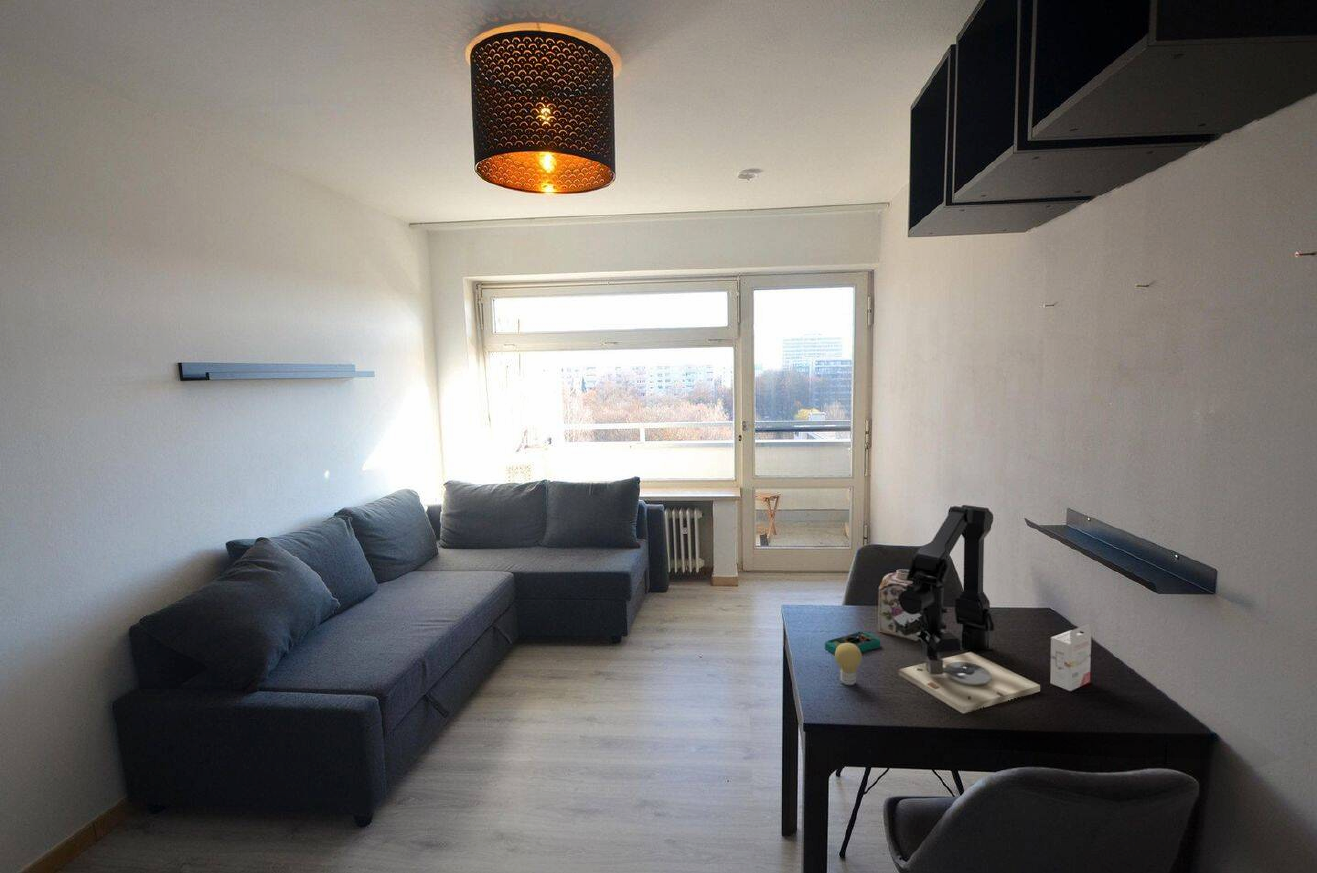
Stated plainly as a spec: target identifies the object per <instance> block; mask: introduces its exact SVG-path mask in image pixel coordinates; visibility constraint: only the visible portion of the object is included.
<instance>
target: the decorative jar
mask: <svg viewBox="0 0 1317 873" xmlns="http://www.w3.org/2000/svg"><path fill="white" fill-rule="evenodd" d="M908 572H909V569H906V568H905V569H897V570H896V572H891V573H888V574H885V575H884V576H883V578H882V580H881V582H880V585H879V587H878V607H877V608H878V609H877V610H878V616H877V617H878V618H877V619H878V624H877V625H878V631H879V633H883V634H888V635H890V634H891V636H894V635H895V637H899V638H903V639H906V638H907V639H906V640H911V641H914V642H918V641H919V640H920V638H919V637H918V636H917V635H916V634H910V635H907V636H905V635H903V634H902V633H901V632H900V631H899V630H898V629H897V626H896V623H895V620H894V617H895V616H897V615H900V614H902V612H903V611H904V610H903V609H902V608H901V606H900V604H899V596H900V594H901V593H902V592H903V591H905V590H907V585H908V584H912V583H913V581H909V580H907V576H908Z"/></svg>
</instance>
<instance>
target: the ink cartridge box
mask: <svg viewBox="0 0 1317 873" xmlns="http://www.w3.org/2000/svg"><path fill="white" fill-rule="evenodd" d="M1081 632H1083V633H1081ZM1091 652H1092V634H1091V625H1090V624H1086V625H1084V626H1080V627H1077V628H1074V629H1073V630H1072V629H1071V630H1067V631H1065V632H1062V633H1060V634H1057V635H1054V636H1051V637H1050V684H1051V685H1053V686H1056V687H1059V688H1062V689H1063V690H1066V691H1069V692H1072V691H1074V690H1076V689H1078V688H1080V687H1082V686H1085V685H1087V684H1089V683H1090V682H1091V659H1092V657H1091V654H1092V653H1091Z"/></svg>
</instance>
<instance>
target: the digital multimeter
mask: <svg viewBox="0 0 1317 873" xmlns="http://www.w3.org/2000/svg"><path fill="white" fill-rule="evenodd" d="M842 643H852V644H854V645H856V646H857V647H858V648H859V650H860V651H861V653H863V652H866V651H870V650H874V649H878V648H881V640H880V639H879V638H878V637H876V636H875V635H873V634H870V633H868V632H866V631H863V630H861V631H858V632H854V633H851V634H847V635H845V636H841V637H837V638H833V639H830V640H826V641H825V642H824V649H825V650H826V651H828V652H830V653H831V654H832V655H835V651H836V648H837V647H838V646H839V645H840V644H842Z"/></svg>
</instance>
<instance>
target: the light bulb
mask: <svg viewBox="0 0 1317 873" xmlns="http://www.w3.org/2000/svg"><path fill="white" fill-rule="evenodd" d="M834 658H835V659H834V660H835V661H836V663H837V665H838V666H839V667H840V674H839V675H840V682H841V683H843V684H844V685H846V686H853V685H855V684H856V683H857V669H858V668H859V667H860V665H861V663H862V660H863V655H862V652H861V651H860V650H859V648H858V647H857V646H856V645H854V644H852V643H842V644H840V645H839V646H838V647H837V648H836V651H835V654H834Z"/></svg>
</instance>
